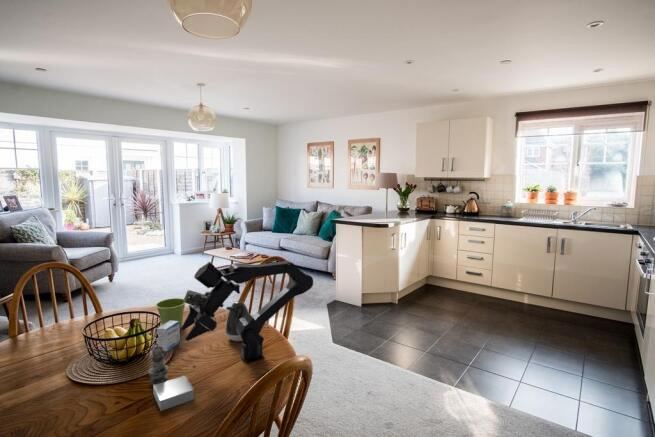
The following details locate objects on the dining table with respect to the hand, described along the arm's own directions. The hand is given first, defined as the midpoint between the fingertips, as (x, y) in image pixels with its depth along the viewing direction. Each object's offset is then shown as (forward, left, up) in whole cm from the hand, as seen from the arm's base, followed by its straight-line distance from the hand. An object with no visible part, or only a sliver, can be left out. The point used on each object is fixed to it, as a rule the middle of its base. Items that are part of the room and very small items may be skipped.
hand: (184, 334), depth 116 cm
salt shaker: (+8, -1, -14) cm, 16 cm away
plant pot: (-5, -39, -14) cm, 42 cm away
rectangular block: (+6, +11, -13) cm, 18 cm away
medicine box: (0, -23, -14) cm, 27 cm away
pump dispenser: (-24, -14, -14) cm, 31 cm away
